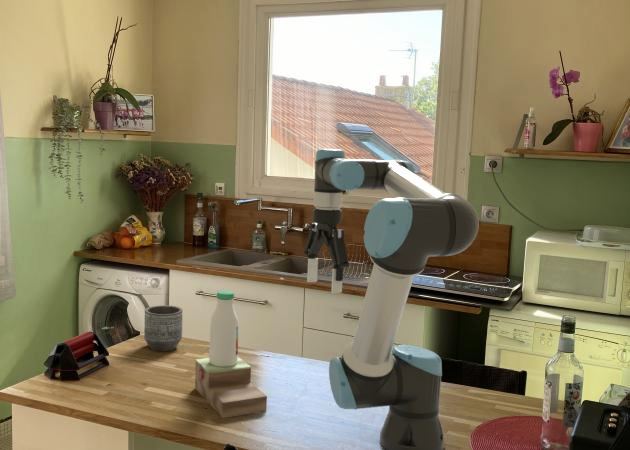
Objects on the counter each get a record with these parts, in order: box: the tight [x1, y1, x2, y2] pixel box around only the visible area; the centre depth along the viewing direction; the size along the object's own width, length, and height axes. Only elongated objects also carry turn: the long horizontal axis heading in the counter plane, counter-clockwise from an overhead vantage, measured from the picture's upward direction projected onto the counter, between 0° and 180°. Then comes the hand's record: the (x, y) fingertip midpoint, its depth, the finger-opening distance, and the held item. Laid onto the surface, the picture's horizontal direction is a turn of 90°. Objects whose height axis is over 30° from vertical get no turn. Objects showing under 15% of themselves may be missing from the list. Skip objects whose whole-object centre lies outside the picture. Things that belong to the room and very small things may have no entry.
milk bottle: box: [208, 290, 239, 367], centre depth 193 cm, size 8×8×20 cm
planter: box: [143, 304, 183, 352], centre depth 232 cm, size 12×12×13 cm
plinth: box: [194, 356, 268, 419], centre depth 190 cm, size 22×13×8 cm, turn 28°
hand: (323, 287), depth 188 cm, fingers open, 13 cm apart
